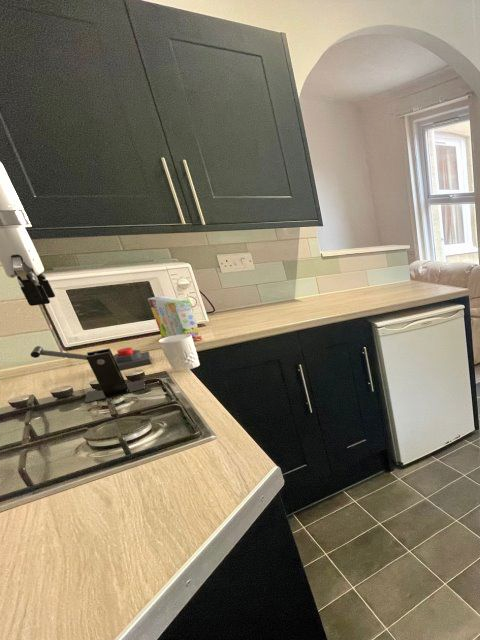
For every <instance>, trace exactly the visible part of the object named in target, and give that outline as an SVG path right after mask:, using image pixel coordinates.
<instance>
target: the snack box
mask: <svg viewBox="0 0 480 640" xmlns="http://www.w3.org/2000/svg"><path fill="white" fill-rule="evenodd" d="M147 301H148V304H149V307H150V309H151V312H152V315H153V317H154V320H155V322H156V325H157V327H158V330H159V333H160V336H161V337H162V338H166V337H169V336H174V335H180V334H190V335H191V336H192V339H193V342H194V343H195V342H197V341H202V339H203V338H202V335H201V332H200V329H199V325H198V323H197V319H196V317H195V314H194V310H193V308H192V305H191V301H190V300H189V299H187V298H186V299H185V298H178V297H172V296H164V295H159V296H153V297H149V298H147ZM197 339H200V340H197ZM194 340H196V341H194Z"/></svg>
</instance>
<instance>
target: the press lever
mask: <svg viewBox="0 0 480 640" xmlns="http://www.w3.org/2000/svg"><path fill="white" fill-rule="evenodd" d="M95 354H100V353H94V355H95ZM30 356H31V358H35V359H36V358H39V357H40V356H48V357H56V358H63V359H64V358H65V359H66V358H67V359H74V360H83V361H88V360H87V358H86V356H90V355H87V354H80V353H72V352H63V351H56V350H46V349H44V348H43V347H42V346H40V345H37V346H35V347H34V348H33V349H32V351H31V352H30Z"/></svg>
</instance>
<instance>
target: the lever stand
mask: <svg viewBox="0 0 480 640" xmlns="http://www.w3.org/2000/svg"><path fill="white" fill-rule="evenodd" d="M94 353H100V354H95V355H94ZM86 355H90V356H86V358H87V360H86V361H87V363H88V364H89V367H90V368H91V370H92V373H93V375H94V377H95V379H96V380H97V381H96V382H97V383H98V385H99V387H100V389H102V391H97V390H98V389H93V390H89V391H87V392H86V395H85V399H84V404H85V405H86V404H90V403H95V402H99V401H103V400H107V399H106V398H108V399H112V398H115V397H119V396H125V395H128V394H132V393H137V392H141V391H144V390H146V389H147V387H146V380H144V379H145V378H142V379H143V380H142V379H138V380H139V381H138V380H134V382H133V381H130V382H126V381H125V378H124V376H123V374H122V371H120V369H119V367H118V365H117V363H116V361H115V358H114V356H113V355H114V354H113V352H112V350H111V348H109V347H108V348H103V349H99V350H94V351H88V352H86Z"/></svg>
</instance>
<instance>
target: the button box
mask: <svg viewBox="0 0 480 640" xmlns="http://www.w3.org/2000/svg"><path fill="white" fill-rule="evenodd" d="M133 352H134V353H133V354H130V355H125V356H119V354H118V353H116V354H113V356H114V358H115V361H116V363H117V365H118V367H119V369H120V371H121V372H122V371H127V370H132V369H136V368H140V367H146V366H149V365H153V362H152V356H151V354H150V352H149V351H143V352H141V351H140V350H139V349H138V350H137V349H133Z"/></svg>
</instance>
